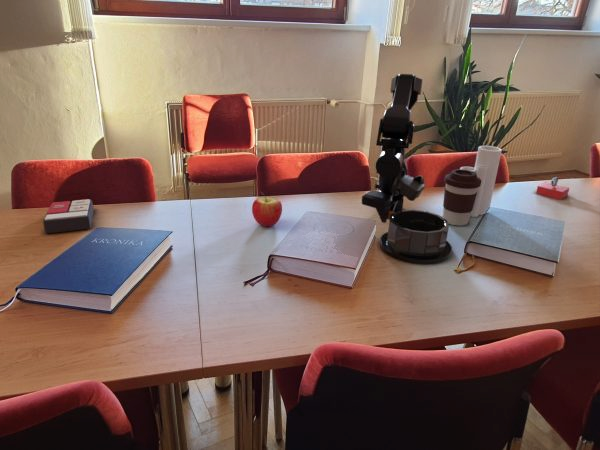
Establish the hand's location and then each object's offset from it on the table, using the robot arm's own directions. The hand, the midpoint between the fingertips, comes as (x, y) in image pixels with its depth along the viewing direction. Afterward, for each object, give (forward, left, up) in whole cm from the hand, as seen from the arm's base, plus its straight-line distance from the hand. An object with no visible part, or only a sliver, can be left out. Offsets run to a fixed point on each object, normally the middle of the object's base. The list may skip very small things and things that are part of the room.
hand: (385, 220), depth 118 cm
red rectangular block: (-9, +75, -5) cm, 76 cm away
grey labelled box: (-40, -78, -5) cm, 88 cm away
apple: (-19, -27, -5) cm, 33 cm away
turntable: (+8, +4, -5) cm, 10 cm away
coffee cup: (-2, +26, -5) cm, 26 cm away
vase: (-6, +36, -5) cm, 37 cm away
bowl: (+7, +3, -3) cm, 8 cm away
